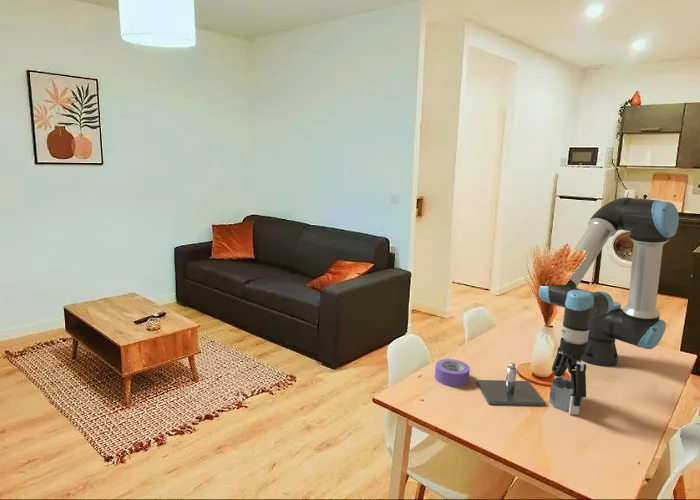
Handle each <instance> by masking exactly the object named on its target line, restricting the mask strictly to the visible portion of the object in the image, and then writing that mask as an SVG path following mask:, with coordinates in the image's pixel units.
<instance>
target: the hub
mask: <svg viewBox="0 0 700 500" xmlns="http://www.w3.org/2000/svg"><path fill="white" fill-rule="evenodd" d="M554 378H555V377H554ZM571 394H573V389H572V382H571V378H568V377H564V378H555V379H553V380H552V381H551V384H550V391H549V397H548V398H549V399H548V402H549V403H550V404H551V406H552V407H553V408H555V409H557V410H559V411H562V412H566V413H569V407H570V400H571ZM583 399H584V397H581V401H580V407H579V411H580V410H581V409H582V405H583Z"/></svg>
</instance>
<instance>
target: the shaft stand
mask: <svg viewBox="0 0 700 500" xmlns="http://www.w3.org/2000/svg"><path fill="white" fill-rule="evenodd" d="M517 371H518V369H517V367H516V364H515V363H513V362H509V365H508V366H507V367H506V376H505V379H504V380H499V379H497V380H496V379H494V380H493V379H476V385H477V387H478V388H479V390H480V392H481V394H482V395H483V397H484V400H486V402H487V404H488V405H491V406H492V405H494V406H495V405H496V406H499V405H500V406H539V407H540V406H542V407H543V406H545V405H546V402H545V400H544V399H543V397H541V395H540V394H539V392H538V391H537V390H536V389H535V388H534V386H533V385H532V384H531V383H530V381H529V380H517V379H516V378H517Z"/></svg>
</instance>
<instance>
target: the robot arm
mask: <svg viewBox="0 0 700 500" xmlns="http://www.w3.org/2000/svg"><path fill="white" fill-rule="evenodd" d="M679 218H680V216H679V211H678V208H677V207H676V206H675V204H674V203H672V202H669V201H664V200H660V199H650V198H648V199H646V198H634V197H627V196H626V197H619V198H616V199H613V200H611V201H609V202H607V203H606V204H604V205H603V206H601V207H600V208H599V209H598V210H597V211H596V212H594V214H592V216H591V217H590V219H589V220H588V223H587V224H588V227H587V229H586V230H585V232H584V234H583V235H582V237H580V240H579V241H578V242H577V244H576V246H574V247H575V248H573V250H572V252H573V251H574V250H579V249H583V250H585V251H586V252H587V253H588V254H587V256H586V259H585V260H584V261H583V262H581V265H580V266H578V267H579V268H578V267H577V268H578V269H576V270H575V271H574V272H575V273H574V272H573V274H572V276H571V279H570V281H568V283H567V284H566V285H553V286H541V285H540V286H539V289H538V296H539V299H540V300H542V302H546V303H547V304H550V305H554V306H558V307H561V308H564V313H563V314H564V315H563V322H562V328H561V330H560V331H561V334H560V335H561V337H560V342H559V346H558V347H557V352H556V354H555V355H556V356H555V358H554V361H553V363H552V367H551V371H552V372H553V375H554V379H555V378H565V377H564V376H565V372H566V371H568V373H569V374H570V379H571V382H572V389H573V394H571V400H570V407H569V412H568V414H569V415H579V412H580V410H579V407H580V401H581V397H583V398H587V381H586V380H587V378H586V377H587V376H586V372H587V364H585V363H588V364H592V365H595V366H601V367H602V366H603V367H604V366H605V367H611V366H614V365H617V363H618V359H619V356H618V355H619V354H618V350H617V346H616V340H617V341H620V342H622V343H626V344H628V345H632V346H635V347H637V348H642V349H646V350H652V349H654V348H656V347H657V345H659V343H660V342H661V340H662V338H663V337H664V334H665V333H666V332H665V331H666V328H667V324H666V321H665V320H663V319H660V317H661V313H660V311H659V310H658V309H657V307H656V306H657V299H658V293H659V291H658V290H659V283H660V282H659V281H660V272H661V265H662V256H663V247H664V245H665V244H666V243H668V242H669V241H670V238H672V237H674V236H675V235H676V233H677V232H678V227H679V224H680V223H679V222H680V220H679ZM619 231H626V232H629V240H631V242H632V243H633V249H632V260H631V268H630V278H629V279H630V280H629V288H628V289H629V290H628V297H627V298H628V299H627V300H628V301H627V304H626V305H625V306H623V307H622V305H621V303H619V302H618V301H617V302H616V301H614V299H613V297H612V296H611V295H610V294H609V293H608V292H606V291H600V290H599V291H598V290H597V291H589V290H586V289H582V288H578V287H579V285H580V283H581V281H583V279H584V277H585V276H586V274H587V272H588V271H589V270H590V268H591V267H592V265H593V263H594V261H595V260H596V259H597V257H598V256H599V254H600V253H601V250H602V249H603V247H604V246H605V245H606V243H607V241H608V240H609V238H611V237H614V236H615V235H616V233H617V232H619ZM582 361H583V362H585V363H582ZM554 379H553V380H554Z"/></svg>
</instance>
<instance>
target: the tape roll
mask: <svg viewBox="0 0 700 500" xmlns="http://www.w3.org/2000/svg"><path fill="white" fill-rule="evenodd" d="M470 371H471V369H470V366H469V365H468V363H465V362H464V361H461V360H458V359H453V358H452V359H451V358H444V359H443V358H442V359H439V360H437V361H436V363H435V369H434V379H435V381H436V382H438V383H440V384H441V385H444V386H447V387H451V388H455V387H456V388H457V387H459V388H460V387H464V386H466V385H467V384H469V381H470V380H469V379H470V373H471V372H470Z"/></svg>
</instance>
